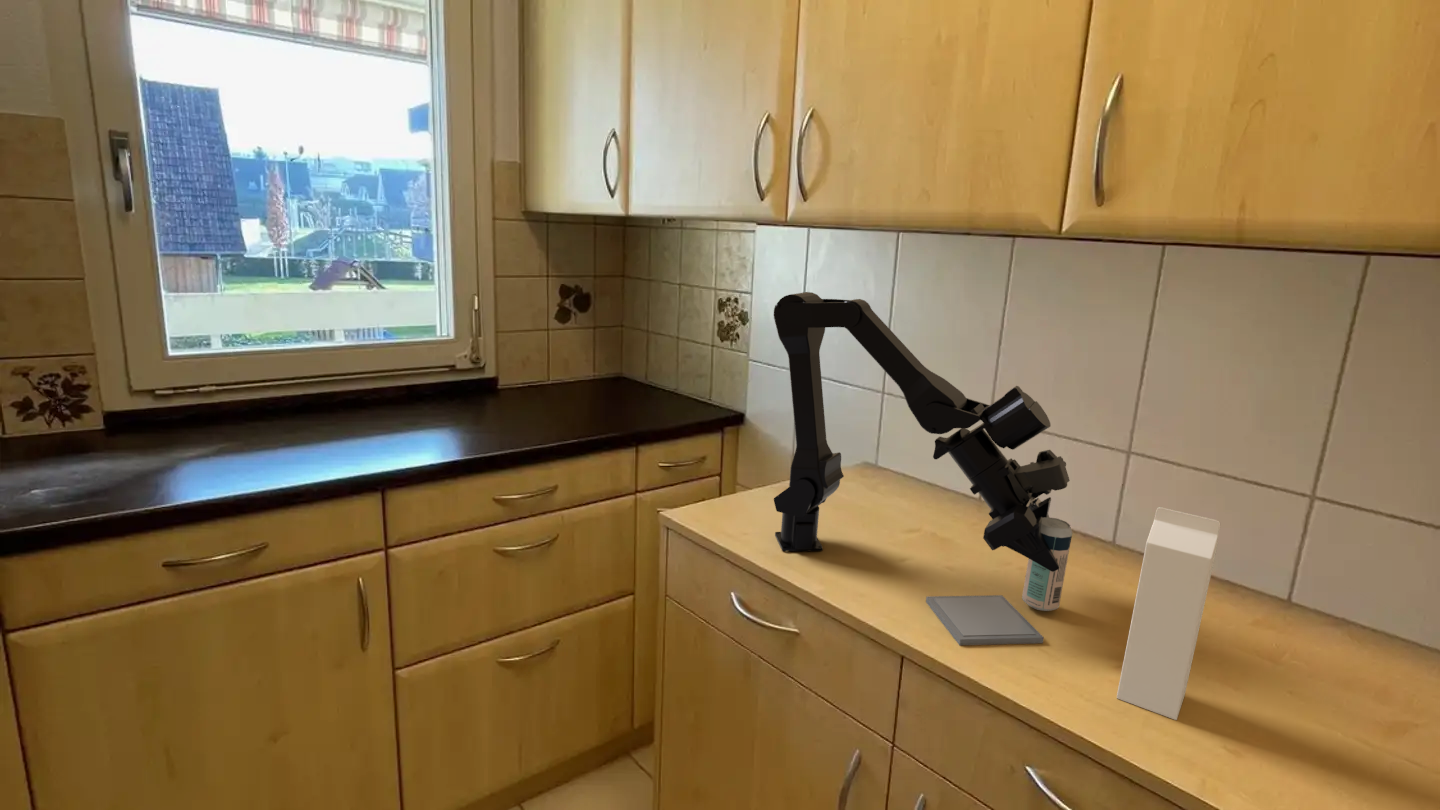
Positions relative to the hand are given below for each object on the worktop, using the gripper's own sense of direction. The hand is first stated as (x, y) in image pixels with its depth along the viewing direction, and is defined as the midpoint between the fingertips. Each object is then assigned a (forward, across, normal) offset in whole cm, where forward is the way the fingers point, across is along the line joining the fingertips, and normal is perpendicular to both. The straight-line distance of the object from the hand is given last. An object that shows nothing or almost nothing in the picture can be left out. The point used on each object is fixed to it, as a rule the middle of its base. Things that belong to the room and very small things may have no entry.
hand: (1058, 562), depth 104 cm
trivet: (0, -8, +10) cm, 13 cm away
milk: (+14, -15, -4) cm, 21 cm away
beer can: (+4, 0, +6) cm, 7 cm away
